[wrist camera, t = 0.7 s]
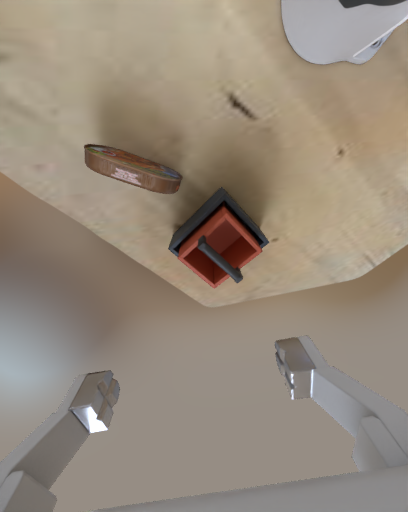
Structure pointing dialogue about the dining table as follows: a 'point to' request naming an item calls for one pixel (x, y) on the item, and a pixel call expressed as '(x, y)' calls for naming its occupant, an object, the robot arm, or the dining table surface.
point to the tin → (131, 169)
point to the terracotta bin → (219, 247)
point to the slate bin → (205, 211)
